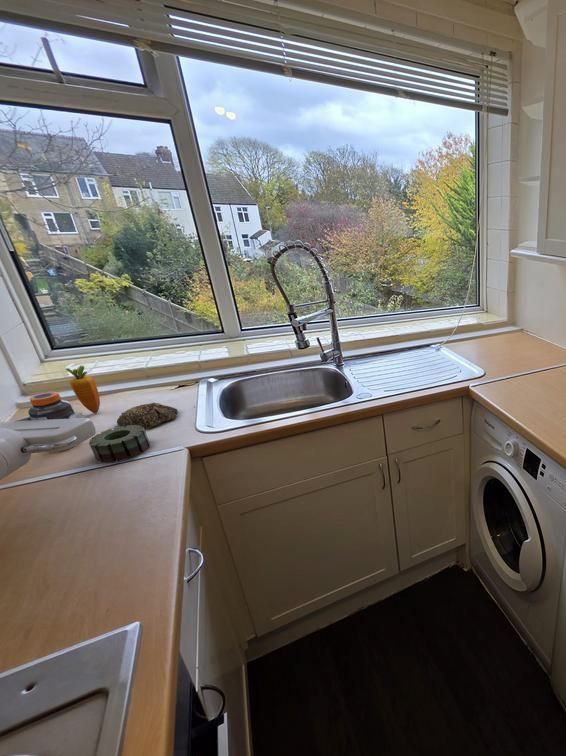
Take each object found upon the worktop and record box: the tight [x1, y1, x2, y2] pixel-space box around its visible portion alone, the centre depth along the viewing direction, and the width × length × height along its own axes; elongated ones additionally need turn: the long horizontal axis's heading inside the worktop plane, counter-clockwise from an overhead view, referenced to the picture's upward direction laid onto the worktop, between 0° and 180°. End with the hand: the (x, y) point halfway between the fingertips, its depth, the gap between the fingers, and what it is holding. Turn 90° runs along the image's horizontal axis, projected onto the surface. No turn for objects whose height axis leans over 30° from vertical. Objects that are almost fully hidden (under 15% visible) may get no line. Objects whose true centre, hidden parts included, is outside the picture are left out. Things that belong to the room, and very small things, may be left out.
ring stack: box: [88, 425, 151, 464], centre depth 101 cm, size 10×10×5 cm
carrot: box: [65, 364, 101, 415], centre depth 117 cm, size 5×5×15 cm
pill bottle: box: [27, 391, 76, 420], centre depth 83 cm, size 6×6×11 cm
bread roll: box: [116, 402, 179, 429], centre depth 116 cm, size 13×12×5 cm
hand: (58, 416), depth 84 cm, fingers closed on pill bottle, 6 cm apart
